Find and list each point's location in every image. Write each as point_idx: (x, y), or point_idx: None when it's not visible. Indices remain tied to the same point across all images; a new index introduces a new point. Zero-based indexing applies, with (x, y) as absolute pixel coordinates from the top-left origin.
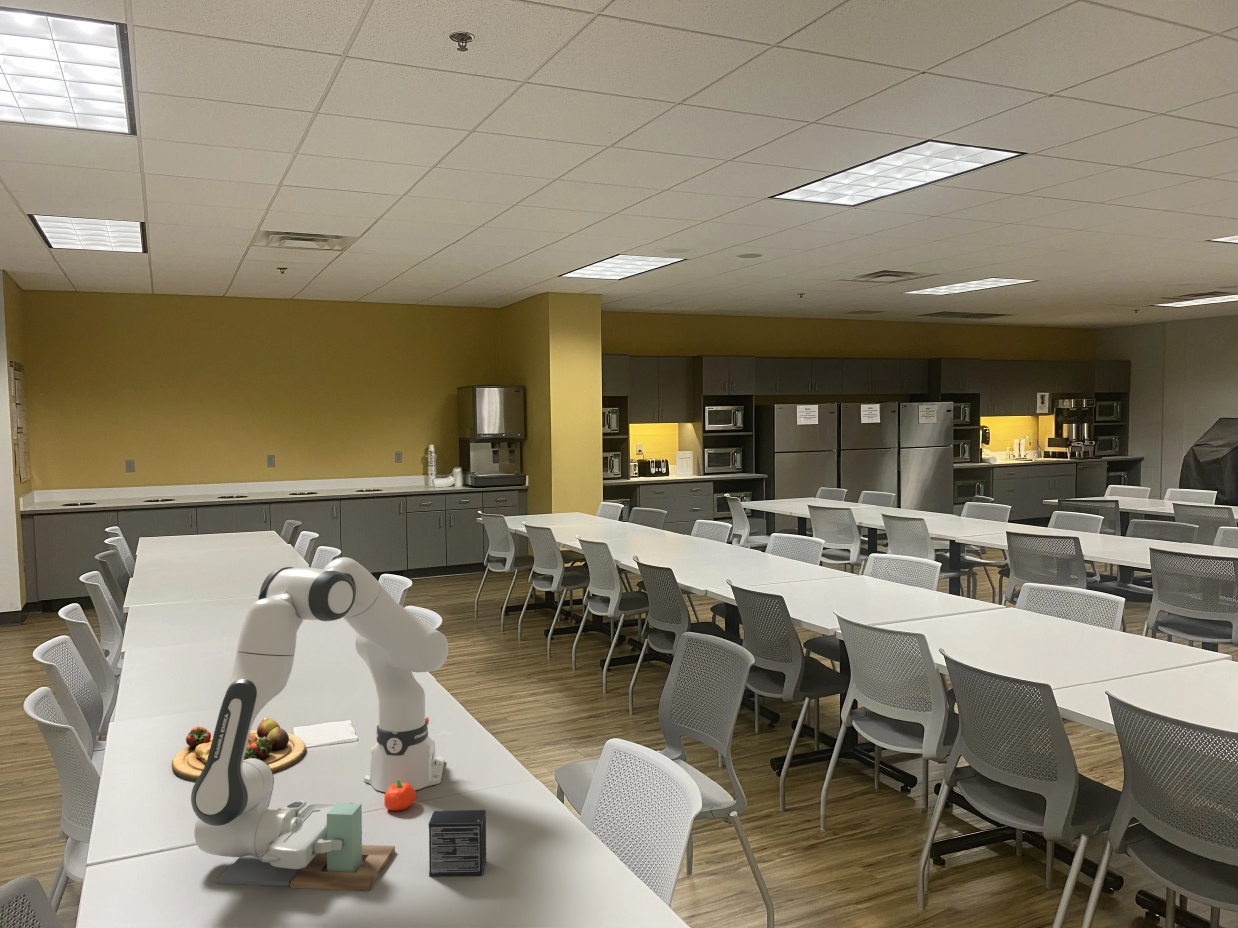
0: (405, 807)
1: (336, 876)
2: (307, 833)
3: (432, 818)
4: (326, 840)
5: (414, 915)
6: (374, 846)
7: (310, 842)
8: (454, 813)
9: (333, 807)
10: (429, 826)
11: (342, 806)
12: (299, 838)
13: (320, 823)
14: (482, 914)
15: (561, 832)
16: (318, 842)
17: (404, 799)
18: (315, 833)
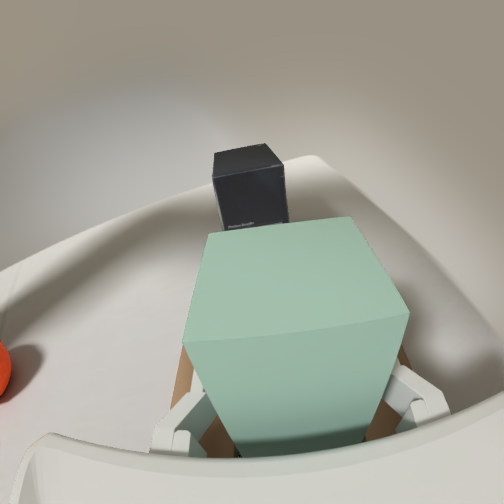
0: (11, 363)
1: (387, 406)
2: (427, 491)
3: (257, 166)
4: (411, 387)
5: (411, 244)
6: (182, 387)
7: (494, 399)
8: (230, 160)
9: (280, 330)
10: (283, 170)
11: (255, 285)
12: (490, 481)
13: (265, 500)
14: (366, 203)
15: (162, 206)
16: (444, 404)
17: (2, 349)
18: (413, 448)
